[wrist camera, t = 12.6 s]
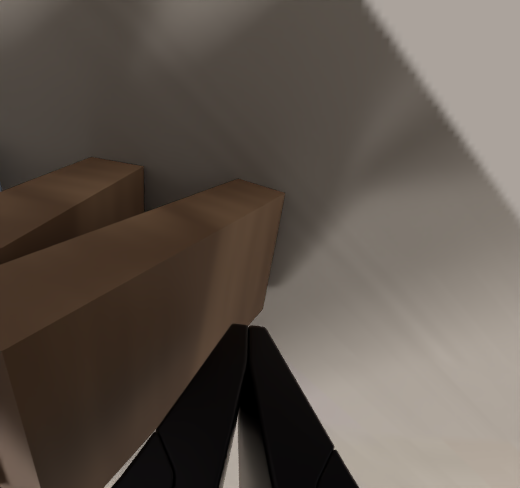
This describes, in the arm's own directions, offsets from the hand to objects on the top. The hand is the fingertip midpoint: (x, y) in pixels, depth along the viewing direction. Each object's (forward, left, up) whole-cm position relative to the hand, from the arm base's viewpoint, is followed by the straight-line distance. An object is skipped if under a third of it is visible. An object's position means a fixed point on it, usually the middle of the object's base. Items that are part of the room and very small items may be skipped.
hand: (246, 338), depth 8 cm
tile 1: (0, 0, -5) cm, 5 cm away
